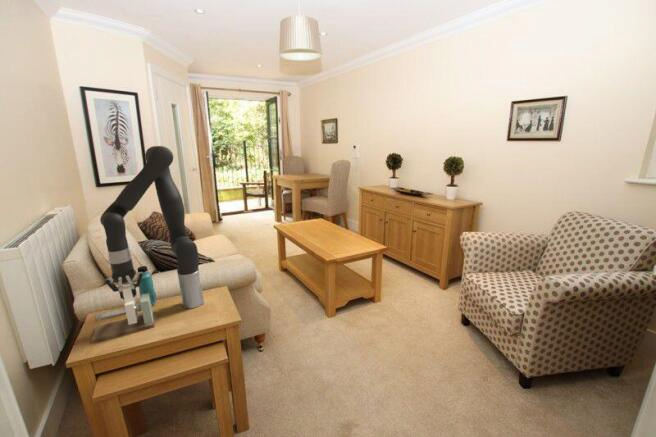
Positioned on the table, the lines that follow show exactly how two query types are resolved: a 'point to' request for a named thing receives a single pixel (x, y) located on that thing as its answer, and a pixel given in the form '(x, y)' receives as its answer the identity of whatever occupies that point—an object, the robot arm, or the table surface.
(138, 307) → the steel pipe
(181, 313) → the table surface
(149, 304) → the mount block
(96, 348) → the table surface
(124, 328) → the pipe board
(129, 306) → the white stepped block
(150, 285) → the beverage bottle
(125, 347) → the table surface
